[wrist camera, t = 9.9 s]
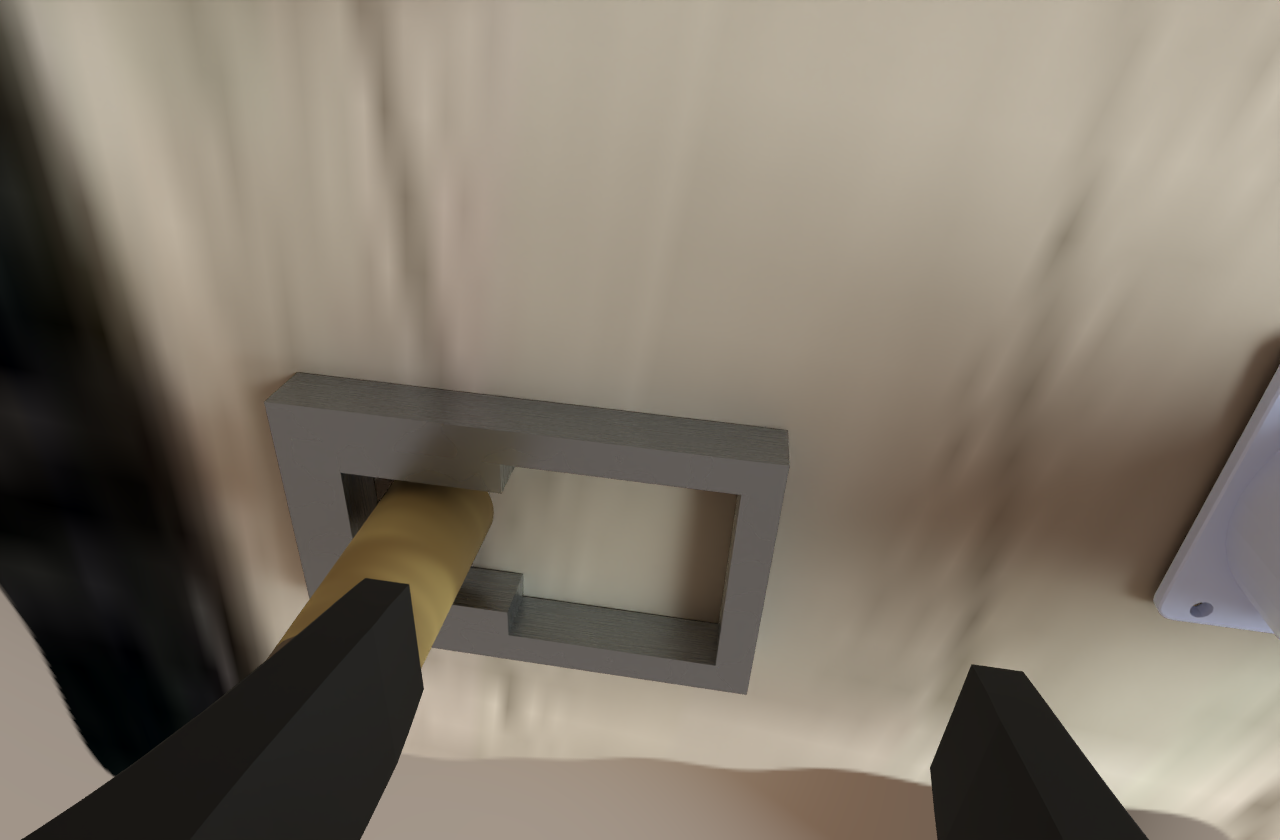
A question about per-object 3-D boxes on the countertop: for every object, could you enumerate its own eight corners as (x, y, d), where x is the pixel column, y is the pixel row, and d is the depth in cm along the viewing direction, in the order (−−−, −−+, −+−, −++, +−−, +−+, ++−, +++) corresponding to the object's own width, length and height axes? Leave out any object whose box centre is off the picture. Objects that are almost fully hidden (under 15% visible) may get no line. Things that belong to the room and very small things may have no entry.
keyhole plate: (787, 430, 19) (789, 465, 18) (747, 651, 23) (746, 694, 22) (297, 372, 21) (263, 401, 19) (341, 593, 25) (317, 630, 23)
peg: (494, 471, 21) (367, 710, 15) (493, 552, 23) (377, 803, 16) (390, 452, 21) (215, 680, 15) (395, 534, 23) (240, 775, 16)
